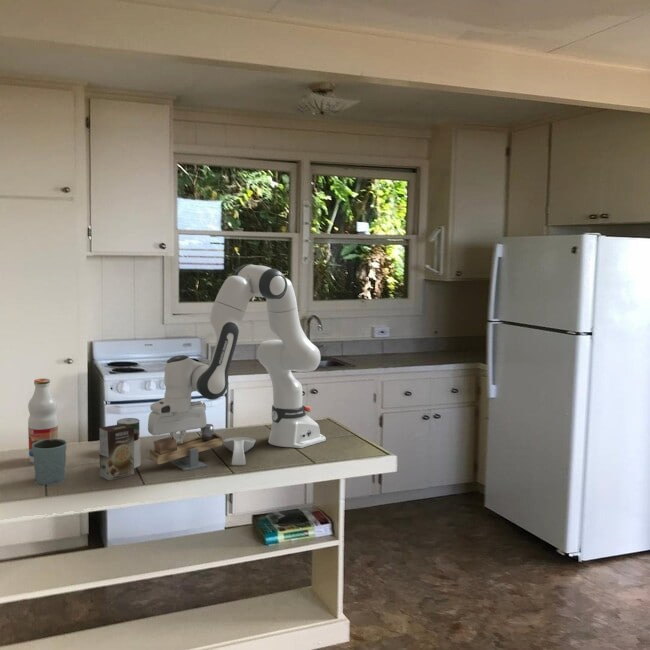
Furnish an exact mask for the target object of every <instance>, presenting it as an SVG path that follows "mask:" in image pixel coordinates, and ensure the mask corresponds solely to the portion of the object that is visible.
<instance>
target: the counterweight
mask: <svg viewBox="0 0 650 650" xmlns="http://www.w3.org/2000/svg"><path fill="white" fill-rule="evenodd" d="M214 431H215V430H214V425H213V424H212V423H207V424H206V426H205V427H204V428H200V437H201V438H202V441H203V442H207V441H210V440H214V433H215V432H214Z"/></svg>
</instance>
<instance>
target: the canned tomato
mask: <svg viewBox="0 0 650 650" xmlns="http://www.w3.org/2000/svg"><path fill="white" fill-rule="evenodd" d="M118 424H128V425H131V426H133V427H134V429H137V430H138V431H139V439H140V440H141V438H140V430H141V429H140V419H139V418H137V417H125V418H120V419H117V420H116V425H118Z"/></svg>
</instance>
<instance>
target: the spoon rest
mask: <svg viewBox="0 0 650 650" xmlns="http://www.w3.org/2000/svg"><path fill="white" fill-rule="evenodd" d="M255 443H256V439H255V438H252V437H248V436H247V437H244V436H243V437H239V436H238V437H230V438H229V437H228V438H225V439H223V440H222V444H223V445H224V446H225V447H226V448H227V449H228V450H229V451H232V452H231V453H232V457H231V466H246V463H247V462H246V456H245V453H247V452H248V451H249V450H251V449H252V448H253V447H254V445H255Z"/></svg>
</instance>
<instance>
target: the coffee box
mask: <svg viewBox="0 0 650 650" xmlns="http://www.w3.org/2000/svg"><path fill="white" fill-rule="evenodd" d="M133 475H135V468H134V427H133V426H131V425H128V424H118V425H117V424H113V425H112V424H111V425H107V426H101V427H99V476H100V477H101V478H103V479H105V480H107V481H113V480H117V479H121V478H126V477H129V476H133Z"/></svg>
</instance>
